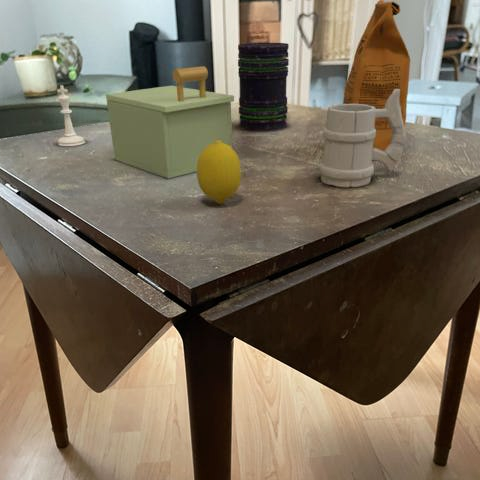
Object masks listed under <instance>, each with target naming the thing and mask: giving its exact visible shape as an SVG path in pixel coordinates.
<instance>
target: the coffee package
mask: <svg viewBox="0 0 480 480" xmlns="http://www.w3.org/2000/svg"><path fill="white" fill-rule="evenodd" d="M400 12H401V6H400V4H399V3H397V2H396V1H394V0H392V1H384V0H378V1H377V2H376V3H375V4H374V9H373V12H372V15H371V16H370V19H369V20H368V22H367V24H366V27H365V29H364V31H363V33H362V35H361V38H360V40H359V42H358V44H357V47H356V50H355V53H354V57H353V61H352V65H351V69H350V71H349V75H348V78H347V81H346V84H345V87H344V92H343V93H344V95H343V101H342V104H364V105H369V106H373V107H375V109H384V107H385V104H386V102H387V99H388V98H389V96H391V94H392V93H393V91H394V89H400V95H399V103H400V107H401V114H402V119H403V124H404V126H406V121H407V104H408V95H409V81H410V70H411V57H410V54H409V50H408V49H407V46H406V43H405V41H404V39H403V37H402V35H401V33H400V31H399V29H398V25H397V23H396V21H395V18H394V16H397V15H398V14H400ZM374 128H375V129H376V136H375V138H374V139H373V148H377V149H379V150H381V151H385V149H386V148H387V147H388V146H389V144H391V138H392V134H393V133H392V128H391V126H390V125H389V123H388V121H387V118H376V119H375V124H374Z"/></svg>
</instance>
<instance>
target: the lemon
mask: <svg viewBox="0 0 480 480" xmlns="http://www.w3.org/2000/svg"><path fill="white" fill-rule="evenodd" d="M196 178H197V182H198V185H199V188H200V190H201V192H202V193H203V194H204V195H205V196H206V197H207V198H208V199H211V200H214V202H216V203H217V204H218V205H223V204H224V202H225V201H226V200H228V199H230V198H231V197H233V196H234V195H235V194H236V193H237V191H238V190H239V187H240V185H241V181H242V167H241V162H240V158H239V156H238V153H237V152H236V151H235V150H234V149H233V147H232V148H231V147H230V146H228V145H226V144H224V143H222V142H221V141H220V140H216V141H215V142H214V143H213V144H211V145H209V146H207V147H206V148H205V149H204V150H203V151H202V153H201V154H200V157H199V160H198V165H197V171H196Z"/></svg>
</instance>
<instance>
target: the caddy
mask: <svg viewBox="0 0 480 480" xmlns="http://www.w3.org/2000/svg"><path fill="white" fill-rule="evenodd" d="M106 104H107V105H106V106H107V112H108V121H109V127H110V129H109V130H110V135H111V143H112V149H113V150H112V151H113V159H114V160H115V161H119V162H121V163H124V164H127V165H129V166H132V167H135V168H138V169H140V170H143V171H146V172H149V173H152V174H154V175H157V176H160V177H163V178H165V179H172V178H175V177H180V176H184V175H188V174H192V173H195V172H196V173H197V165H198V160H199V157H200V154H201V153H202V151H203V150H204V149H205V148H206V147H207V146H209V145H211V144H213V143H214V142H215V141H216V140H220V141H221V142H222V143H224V144H226V145H228V146H230V147H231V148H232V149H233V133H232V132H233V131H232V102H226V103H220V104H214V105H208V106H202V107H196V108H190V109H184V110H178V111H172V112H166V113H165V112H161V111H156V110H152V109H147V108H142V107H138V106H133V105H129V104H124V103H120V102H115V101H111V100H107V99H106Z"/></svg>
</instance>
